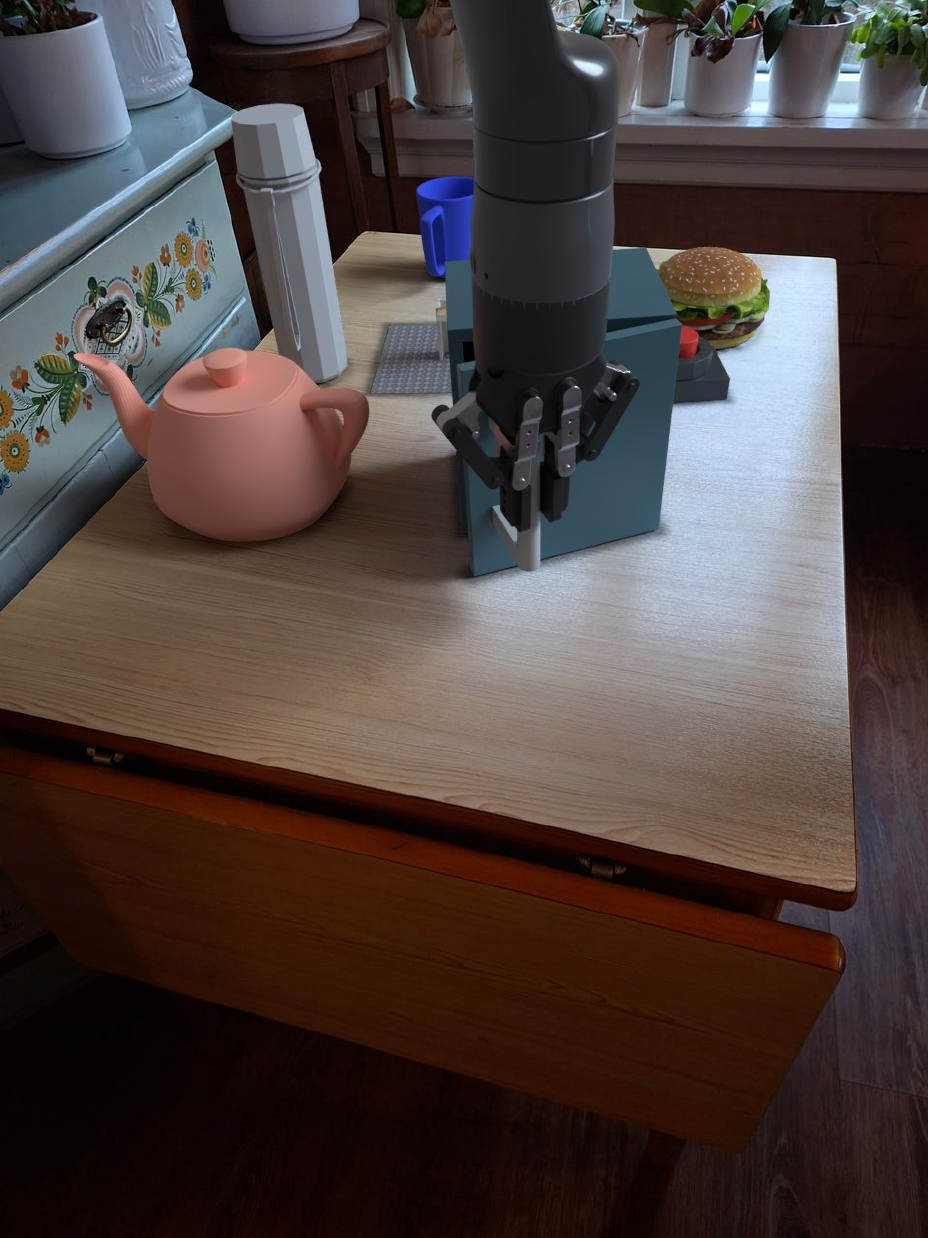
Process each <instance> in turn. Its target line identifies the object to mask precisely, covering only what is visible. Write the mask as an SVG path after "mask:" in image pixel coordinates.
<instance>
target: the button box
mask: <svg viewBox="0 0 928 1238" xmlns="http://www.w3.org/2000/svg"><path fill="white" fill-rule="evenodd" d="M730 382H731V378H730V376H729V374H728V372H727V370H726V369H725V366H724V364H723V362H722V360H721V358H720V356H719V354H718V352H717V350H716V349H715V348H714V346H713V345H712V346H711V344H710V342H709V341H707V340H705V339H703V338H701V337H700V336H698V344H697V351H696V354H695V355H693V356H691V357H688V358H678V366H677V374H676V383H675V392H674V400H673V404H676V403H690V402H692V403H693V402H704V401H719V400H721V401H722V400H727V399H728V394H729V388H730Z"/></svg>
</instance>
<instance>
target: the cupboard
mask: <svg viewBox="0 0 928 1238" xmlns="http://www.w3.org/2000/svg"><path fill="white" fill-rule="evenodd" d="M656 269H657V268H656V265H655V263H654V261H653V260H652V257H651V254H650V253H649V250H648V248H647V247H636V248H635V247H634V248H633V247H632V248H621V249H620V248H619V249H613V256H612V268H611V280H610V292H609V304H608V316H607V329H606V333H609V332H614V331H619V330H623V329H628V328H633V327H638V326H642V325H647V324H652V323H656V322H661V321H666V320H671V319H676V318H677V314H676V311H675V309H674V307H673V305H672V303H671V301H670V298H669V296H668V294H667V292H666V290H665V287H664V285H663V283H662V281H661V279H660V277H659V274H658V272H657V270H656ZM471 273H472V272H471V269H470V264H469V260H459V261H445V278H444V282H445V283H444V284H445V299H446V310H447V333H448V347H449V360H450V374H451V388H452V392H451V398H452V399H451V400H452V401H451V402H452V406H453V405H454V404H456V403H457V402H458V401H459V392H458V377H457V364H462V363H467V362H472V361H475V352H474V343H473V309H472V276H471ZM455 451H456V452H455V453H456V455H455V456H456V466H457V468H456V469H457V480H458V481H457V482H458V495H459V506H460V523H461V534H468V525H467V510H466V495H465V480H464V465H463V457H462V456H461V455H460V454H459V453H458V451H457V450H456V449H455Z"/></svg>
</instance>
